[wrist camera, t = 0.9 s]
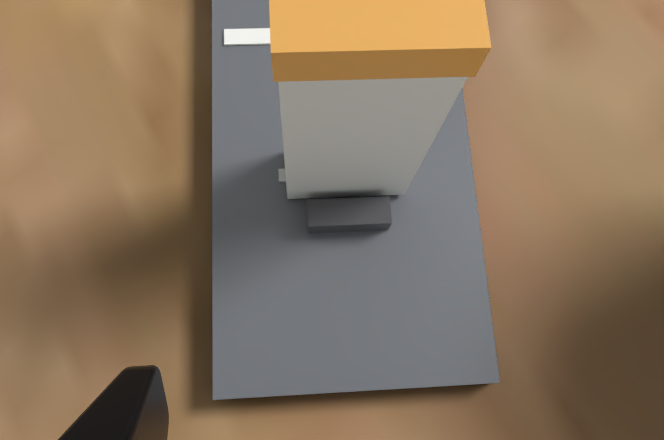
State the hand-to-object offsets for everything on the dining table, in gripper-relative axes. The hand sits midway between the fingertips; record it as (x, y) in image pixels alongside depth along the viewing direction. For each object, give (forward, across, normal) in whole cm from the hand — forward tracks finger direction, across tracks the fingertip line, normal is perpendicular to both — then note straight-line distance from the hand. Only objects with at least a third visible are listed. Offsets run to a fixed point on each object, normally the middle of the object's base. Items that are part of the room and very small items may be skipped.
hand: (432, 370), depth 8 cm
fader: (+14, 0, +4) cm, 15 cm away
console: (+16, 0, +4) cm, 16 cm away
